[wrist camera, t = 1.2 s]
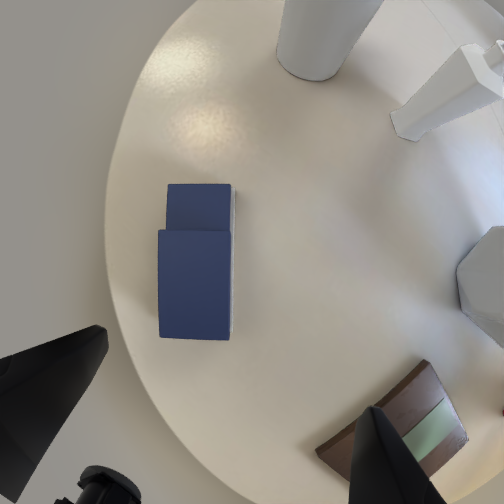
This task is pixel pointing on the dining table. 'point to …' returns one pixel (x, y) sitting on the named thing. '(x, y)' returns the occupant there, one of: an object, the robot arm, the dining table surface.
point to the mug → (321, 34)
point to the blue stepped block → (197, 262)
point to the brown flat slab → (409, 424)
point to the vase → (484, 284)
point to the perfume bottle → (453, 90)
